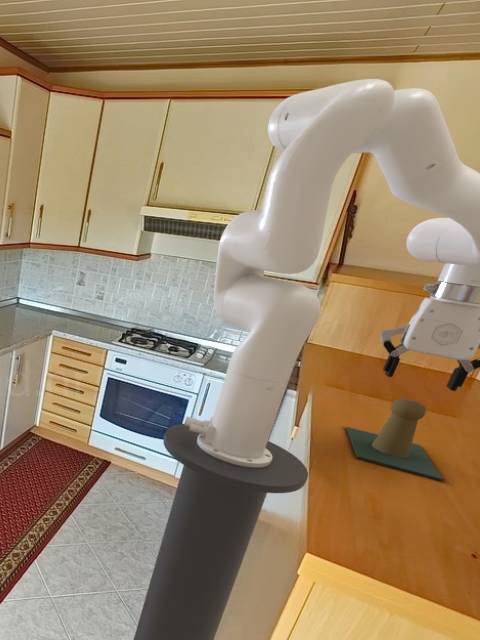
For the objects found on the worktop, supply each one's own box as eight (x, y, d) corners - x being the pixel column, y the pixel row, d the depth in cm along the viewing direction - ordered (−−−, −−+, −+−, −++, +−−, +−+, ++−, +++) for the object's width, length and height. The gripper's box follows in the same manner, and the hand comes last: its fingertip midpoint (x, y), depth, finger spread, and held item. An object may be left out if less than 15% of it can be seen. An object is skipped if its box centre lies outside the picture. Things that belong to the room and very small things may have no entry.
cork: (381, 453, 98) (403, 403, 94) (366, 441, 104) (386, 393, 100) (415, 459, 97) (439, 409, 93) (398, 446, 103) (419, 398, 99)
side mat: (356, 458, 96) (357, 456, 96) (346, 428, 111) (347, 426, 111) (442, 481, 90) (443, 479, 90) (418, 447, 105) (419, 444, 105)
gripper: (405, 287, 90) (367, 374, 96) (533, 306, 82) (484, 400, 88) (396, 285, 96) (362, 366, 102) (514, 302, 89) (470, 390, 94)
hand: (418, 382), depth 95 cm, fingers open, 9 cm apart
